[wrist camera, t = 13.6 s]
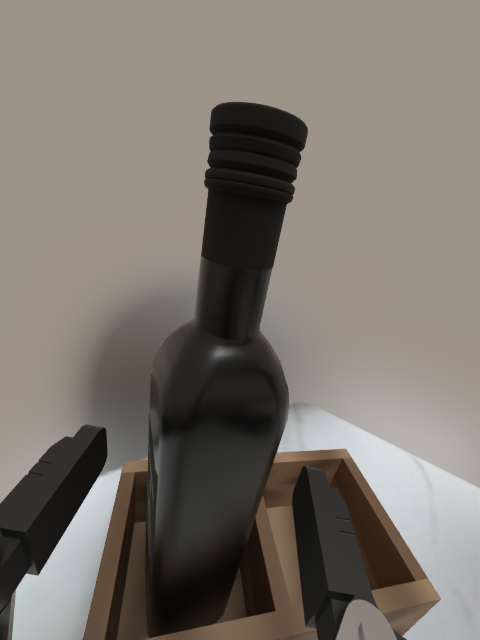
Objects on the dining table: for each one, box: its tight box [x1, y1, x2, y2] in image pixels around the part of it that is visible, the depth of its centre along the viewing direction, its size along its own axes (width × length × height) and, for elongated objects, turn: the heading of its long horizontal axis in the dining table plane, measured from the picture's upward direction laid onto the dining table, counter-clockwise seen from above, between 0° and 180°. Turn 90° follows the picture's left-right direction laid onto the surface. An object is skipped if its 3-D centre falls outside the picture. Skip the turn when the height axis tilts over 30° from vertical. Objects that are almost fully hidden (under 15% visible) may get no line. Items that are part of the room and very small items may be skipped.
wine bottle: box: [145, 102, 308, 638], centre depth 14 cm, size 6×6×30 cm
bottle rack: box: [83, 449, 441, 640], centre depth 20 cm, size 21×11×8 cm, turn 101°
